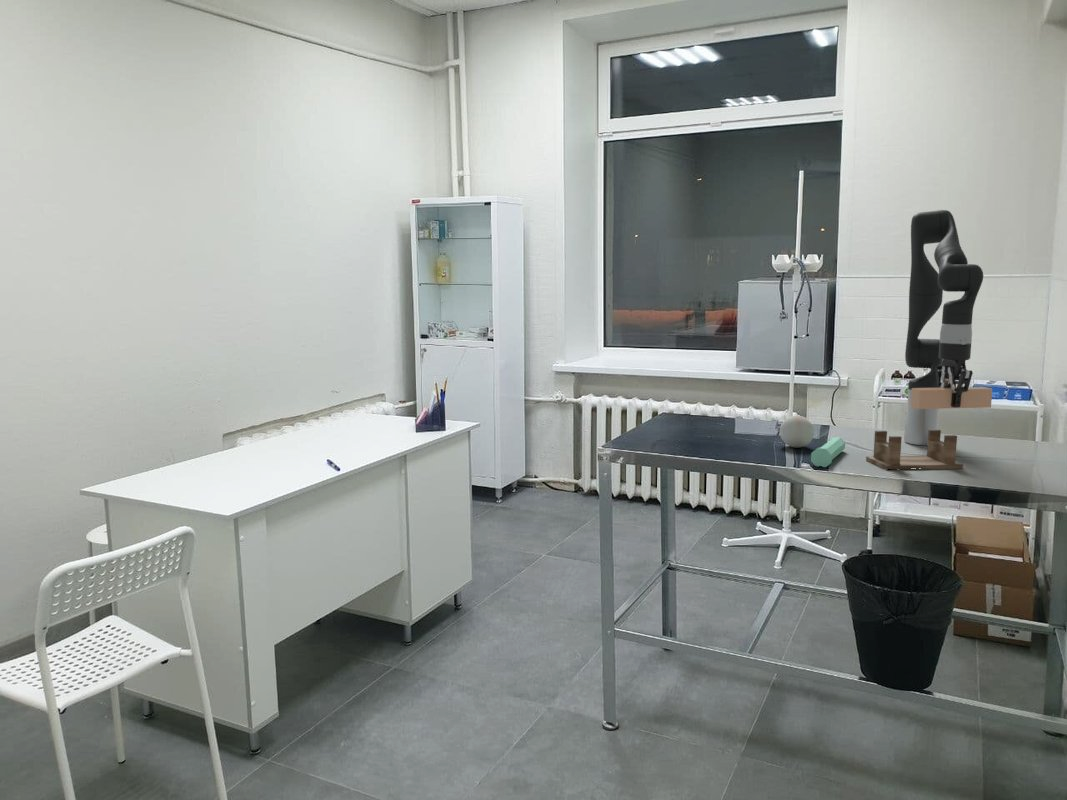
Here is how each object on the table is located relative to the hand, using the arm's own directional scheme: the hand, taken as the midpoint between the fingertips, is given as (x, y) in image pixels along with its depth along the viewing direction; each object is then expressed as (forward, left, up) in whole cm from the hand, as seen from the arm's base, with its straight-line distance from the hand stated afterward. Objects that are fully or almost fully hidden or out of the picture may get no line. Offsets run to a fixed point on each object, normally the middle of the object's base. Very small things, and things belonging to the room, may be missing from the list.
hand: (950, 405), depth 222 cm
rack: (-13, -2, -19) cm, 23 cm away
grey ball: (-39, -26, -19) cm, 51 cm away
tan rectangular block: (0, 0, 0) cm, 0 cm away
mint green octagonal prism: (-23, -22, -20) cm, 37 cm away
